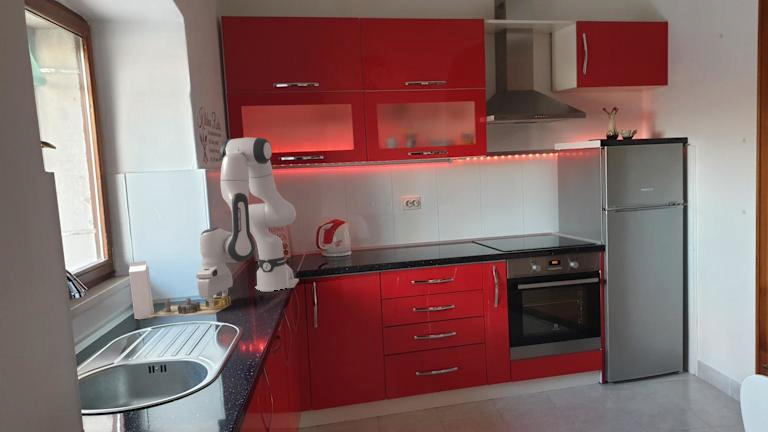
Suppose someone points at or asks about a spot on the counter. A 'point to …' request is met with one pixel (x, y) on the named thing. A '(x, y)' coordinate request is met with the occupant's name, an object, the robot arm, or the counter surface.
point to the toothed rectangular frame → (219, 301)
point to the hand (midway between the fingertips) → (218, 303)
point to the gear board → (202, 311)
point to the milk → (141, 290)
